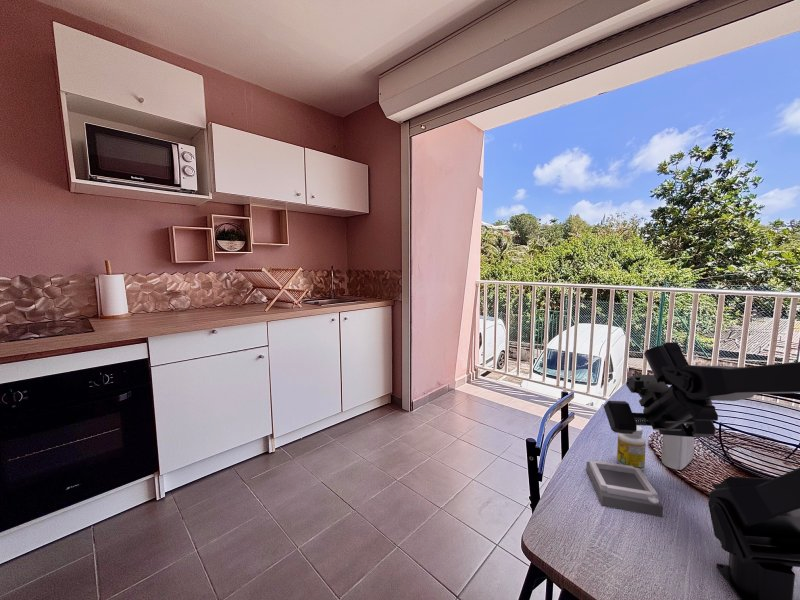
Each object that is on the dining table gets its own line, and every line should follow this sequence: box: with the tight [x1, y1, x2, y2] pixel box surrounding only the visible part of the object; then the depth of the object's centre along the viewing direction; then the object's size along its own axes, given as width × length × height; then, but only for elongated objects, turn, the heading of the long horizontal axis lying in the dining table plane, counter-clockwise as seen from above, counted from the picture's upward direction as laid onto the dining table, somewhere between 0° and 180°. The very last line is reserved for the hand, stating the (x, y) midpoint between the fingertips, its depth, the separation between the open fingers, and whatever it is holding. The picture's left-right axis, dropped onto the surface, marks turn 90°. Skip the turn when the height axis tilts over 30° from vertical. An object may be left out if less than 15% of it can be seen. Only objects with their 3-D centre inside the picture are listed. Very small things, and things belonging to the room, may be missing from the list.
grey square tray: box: [586, 460, 664, 517], centre depth 66 cm, size 12×10×3 cm
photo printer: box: [661, 435, 696, 471], centre depth 76 cm, size 10×4×12 cm, turn 123°
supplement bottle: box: [616, 425, 647, 472], centre depth 75 cm, size 5×5×10 cm
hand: (638, 430), depth 72 cm, fingers open, 9 cm apart
